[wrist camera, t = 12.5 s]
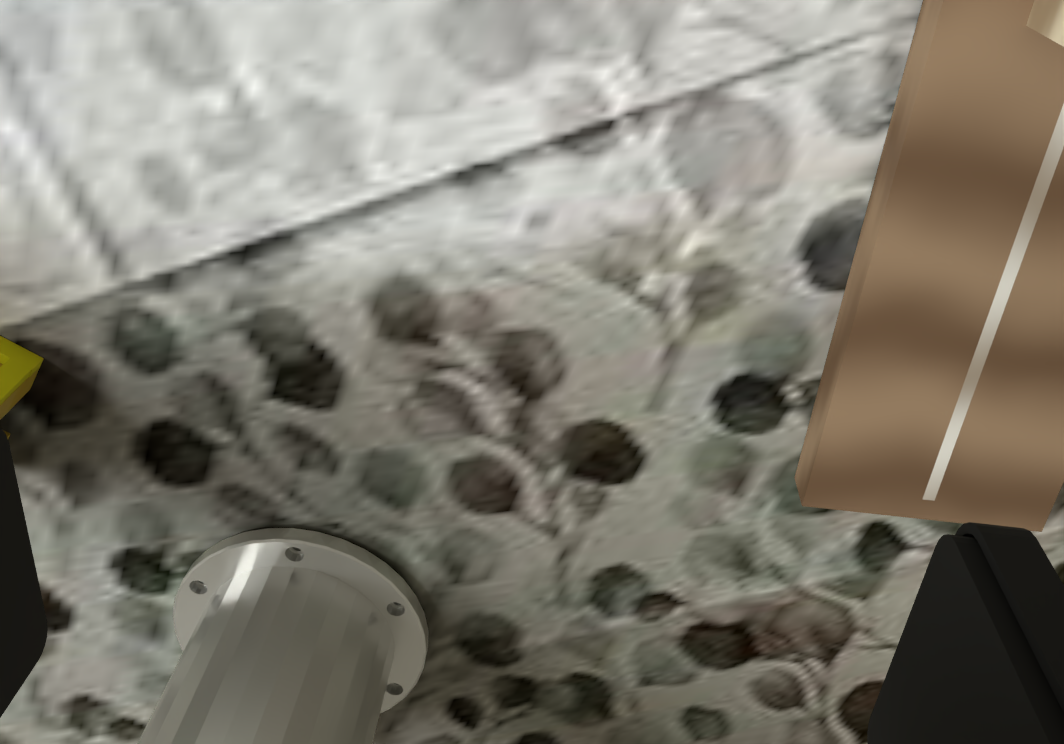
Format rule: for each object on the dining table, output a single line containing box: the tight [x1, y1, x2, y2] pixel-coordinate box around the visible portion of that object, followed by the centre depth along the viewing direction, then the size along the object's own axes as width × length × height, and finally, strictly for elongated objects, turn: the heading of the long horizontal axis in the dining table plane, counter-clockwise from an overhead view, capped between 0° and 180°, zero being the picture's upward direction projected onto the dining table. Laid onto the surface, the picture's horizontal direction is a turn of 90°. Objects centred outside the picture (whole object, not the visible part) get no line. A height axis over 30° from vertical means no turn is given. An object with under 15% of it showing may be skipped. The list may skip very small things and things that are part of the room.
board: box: [795, 0, 1064, 532], centre depth 35 cm, size 28×10×2 cm, turn 175°
